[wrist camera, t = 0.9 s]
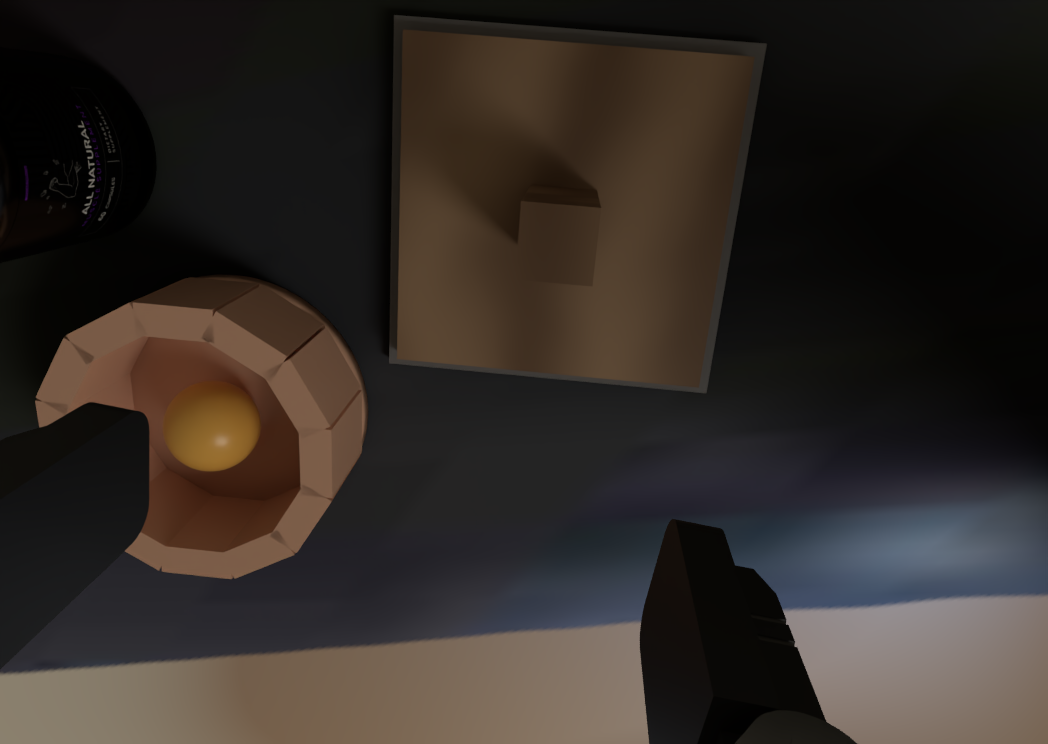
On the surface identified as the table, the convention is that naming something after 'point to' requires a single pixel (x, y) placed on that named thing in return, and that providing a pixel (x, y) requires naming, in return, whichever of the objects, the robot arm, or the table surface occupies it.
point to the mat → (586, 38)
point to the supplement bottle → (67, 154)
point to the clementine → (211, 426)
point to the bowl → (257, 368)
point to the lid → (564, 204)
